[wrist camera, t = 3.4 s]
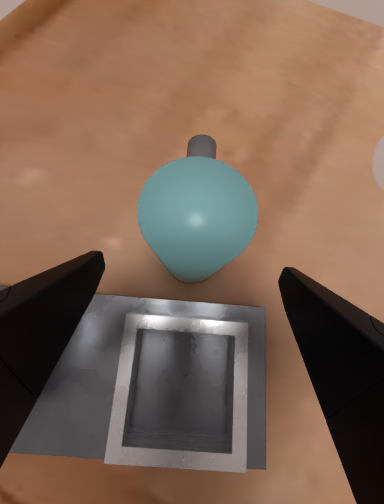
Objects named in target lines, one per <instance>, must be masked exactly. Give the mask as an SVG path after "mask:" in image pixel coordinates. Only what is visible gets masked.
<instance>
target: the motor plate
mask: <svg viewBox="0 0 384 504" xmlns="http://www.w3.org/2000/svg"><path fill="white" fill-rule="evenodd" d="M7 287H8V286H0V290H3V289H5V288H7ZM9 453H21V454H36V455H52V456H67V457H82V458H97V459H104V464H118V465H133V466H148V467H164V468H179V469H194V470H209V471H224V472H240V473H246V468H248V469H263V470H266V367H265V308H264V307H258V306H246V305H233V304H221V303H208V302H196V301H183V300H171V299H158V298H146V297H133V296H121V295H108V294H96V293H95V295H94V297H93V299H92V301H91V302H90V304H89V306H88V308H87V310H86V312H85V313H84V315H83V317H82V319H81V321H80V323H79V324H78V326H77V328H76V330H75V332H74V334H73V335H72V337H71V339H70V341H69V343H68V345H67V346H66V348H65V350H64V352H63V354H62V356H61V357H60V359H59V361H58V363H57V365H56V367H55V368H54V370H53V372H52V374H51V376H50V378H49V379H48V381H47V383H46V385H45V387H44V389H43V390H42V392H41V394H40V396H39V398H38V399H37V402H36V404H35V405H34V407H33V409H32V411H31V413H30V415H29V416H28V418H27V420H26V422H25V424H24V426H23V427H22V429H21V431H20V433H19V435H18V437H17V438H16V440H15V442H14V444H13V446H12V448H11V449H10V451H9Z"/></svg>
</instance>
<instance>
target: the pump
mask: <svg viewBox="0 0 384 504" xmlns="http://www.w3.org/2000/svg"><path fill="white" fill-rule="evenodd" d="M137 218H138V223H139V227H140V230H141V233H142V235H143V236H144V238H145V240H146V242H147V243H148V244H149V246H150V247H151V248H152V250H153V251H154V252H155V254H156V255H157V256H158V258H159V259H160V260H161V262H162V263H163V264H164V266H165V267H166V268H167V270H168V271H169V272H170V274H171V275H172V276H173V277H175V278H176V279H178V280H180V281H182V282H185V283H197V282H201V281H203V280H205V279H207V278H208V277H209V276H211V275H212V274H213V273H215V272H216V271H218V270H219V269H220V268H222V267H223V266H224V265H226V264H227V263H228V262H230V261H231V260H233V259H234V258H235V257H237V256H238V255H239V254H240V253H241V252H242V251H243V250H244V249H245V248H246V247H247V246H248V244H249V243H250V241H251V239H252V238H253V236H254V233H255V230H256V227H257V222H258V205H257V201H256V197H255V195H254V192H253V190H252V188H251V186H250V185H249V183H248V182H247V180H246V179H245V178H244V177H243V176H242V175H241V174H240V173H239V172H238V171H237V170H235V169H234V168H233V167H231V166H230V165H228V164H226V163H224V162H221V161H219V160H216V142H215V140H214V139H213V138H211V137H210V136H207V135H196V136H194V137H192V138H191V139H190V140H189V142H188V148H187V157H185V158H180V159H177V160H174V161H171V162H169V163H167V164H165V165H164V166H162V167H160V168H159V169H158V170H157V171H155V172H154V173H153V174H152V175H151V176H150V178H149V179H148V180H147V182H146V183H145V185H144V187H143V188H142V191H141V193H140V196H139V200H138V206H137Z"/></svg>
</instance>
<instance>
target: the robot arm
mask: <svg viewBox="0 0 384 504" xmlns="http://www.w3.org/2000/svg"><path fill="white" fill-rule="evenodd" d="M104 270H105V262H104V257H103V253H102V252H101V251H91V252H88V253H86V254H84V255H81V256H79V257H77V258H74V259H72V260H70V261H67V262H65V263H63V264H60V265H58V266H56V267H54V268H51V269H49V270H47V271H44V272H42V273H40V274H37V275H35V276H33V277H30V278H28V279H26V280H24V281H21V282H19V283H17V284H14V285H13V286H10V287H7V288H5V289H3V290H0V468H1V466H2V464H3V462H4V460H5V459H6V457H7V455H8V453H9V451H10V449H11V448H12V446H13V444H14V442H15V440H16V438H17V437H18V435H19V433H20V431H21V429H22V427H23V426H24V424H25V422H26V420H27V418H28V416H29V415H30V413H31V411H32V409H33V407H34V405H35V404H36V402H37V399H38V398H39V396H40V394H41V392H42V390H43V389H44V387H45V385H46V383H47V381H48V379H49V378H50V376H51V374H52V372H53V370H54V368H55V367H56V365H57V363H58V361H59V359H60V357H61V356H62V354H63V352H64V350H65V348H66V346H67V345H68V343H69V341H70V339H71V337H72V335H73V334H74V332H75V330H76V328H77V326H78V324H79V323H80V321H81V319H82V317H83V315H84V313H85V312H86V310H87V308H88V306H89V304H90V302H91V301H92V299H93V297H94V295H95V292H96V290H97V287H98V285H99V282H100V280H101V277H102V275H103V273H104ZM278 284H279V288H280V293H281V297H282V301H283V305H284V308H285V312H286V315H287V317H288V320H289V323H290V325H291V328H292V331H293V334H294V336H295V339H296V342H297V344H298V347H299V350H300V352H301V355H302V358H303V360H304V363H305V366H306V368H307V371H308V374H309V377H310V379H311V382H312V385H313V387H314V390H315V393H316V395H317V398H318V401H319V403H320V406H321V409H322V411H323V414H324V417H325V419H326V420H327V421H326V423H327V425H328V428H329V431H330V433H331V436H332V439H333V441H334V444H335V447H336V449H337V452H338V455H339V458H340V460H341V463H342V466H343V468H344V471H345V474H346V476H347V479H348V482H349V484H350V487H351V490H352V492H353V495H354V498H355V500H356V503H357V504H384V323H382V322H381V321H379V320H377V319H376V318H374V317H373V316H371V315H369V314H368V313H366V312H364V311H363V310H361V309H360V308H358V307H356V306H355V305H353V304H352V303H350V302H348V301H347V300H345V299H343V298H342V297H340V296H339V295H337V294H335V293H334V292H332V291H331V290H329V289H327V288H326V287H324V286H323V285H321V284H319V283H318V282H316V281H315V280H313V279H311V278H310V277H308V276H306V275H305V274H303V273H302V272H300V271H298V270H297V269H295V268H293V267H285V268H284V269H283V271H282V273H281V275H280V278H279V280H278Z"/></svg>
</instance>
